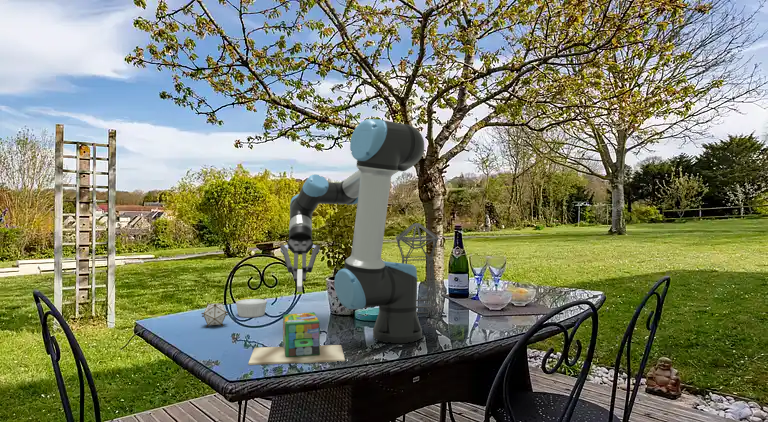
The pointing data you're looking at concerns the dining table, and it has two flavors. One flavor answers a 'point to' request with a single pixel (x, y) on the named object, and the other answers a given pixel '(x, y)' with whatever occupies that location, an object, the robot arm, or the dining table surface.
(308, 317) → the chalk box
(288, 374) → the dining table surface
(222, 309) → the game die
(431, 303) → the geometric lantern
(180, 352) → the dining table surface
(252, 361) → the beige mat
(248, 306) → the ramekin
